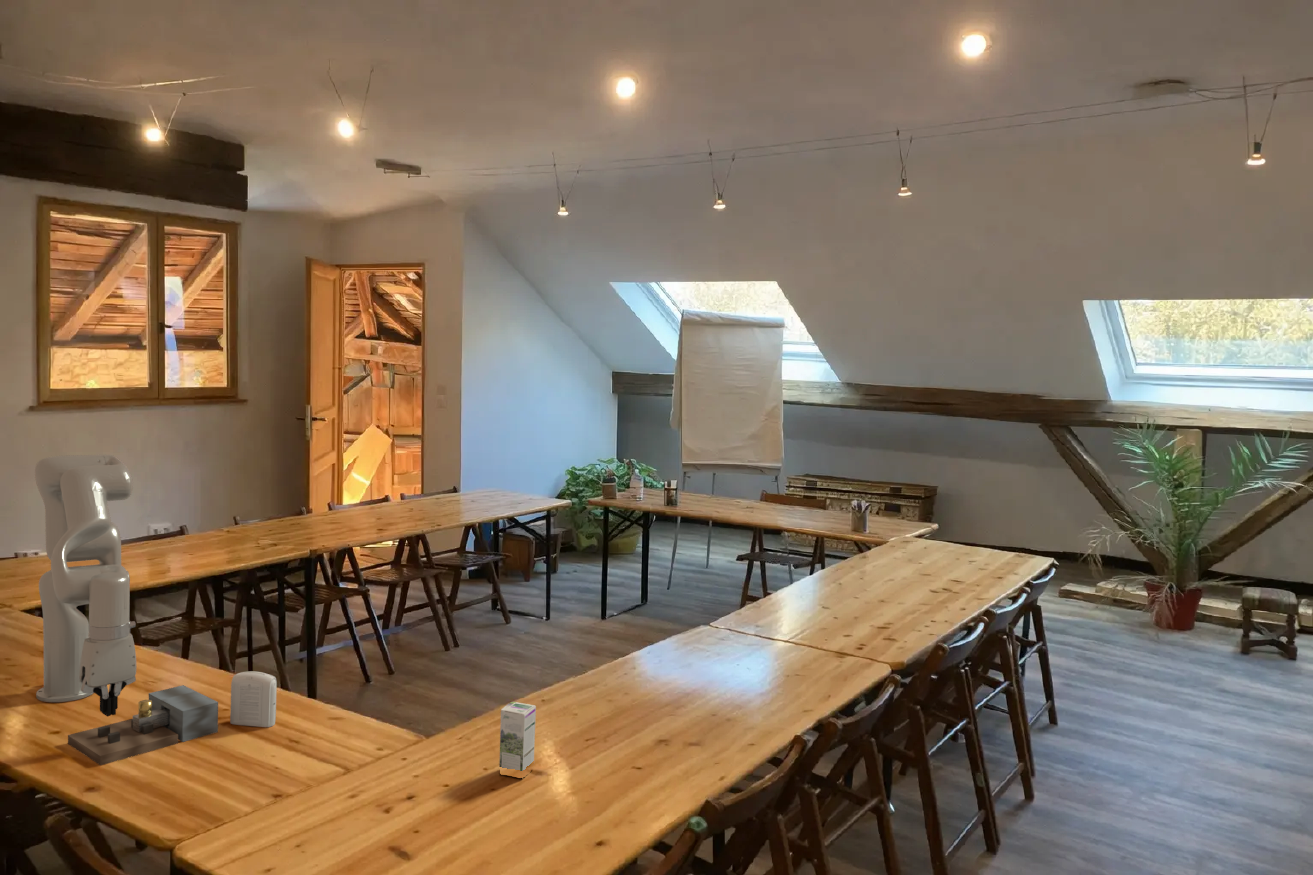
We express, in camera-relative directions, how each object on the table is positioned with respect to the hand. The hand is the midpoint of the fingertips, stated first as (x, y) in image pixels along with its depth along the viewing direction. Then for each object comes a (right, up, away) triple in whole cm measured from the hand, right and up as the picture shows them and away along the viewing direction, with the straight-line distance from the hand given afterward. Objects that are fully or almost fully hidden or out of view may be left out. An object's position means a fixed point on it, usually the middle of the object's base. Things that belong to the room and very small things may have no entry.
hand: (108, 713), depth 208 cm
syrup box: (+88, -12, -3) cm, 89 cm away
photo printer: (+24, -7, +17) cm, 30 cm away
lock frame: (+5, -7, +6) cm, 11 cm away
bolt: (+7, -5, +9) cm, 13 cm away
